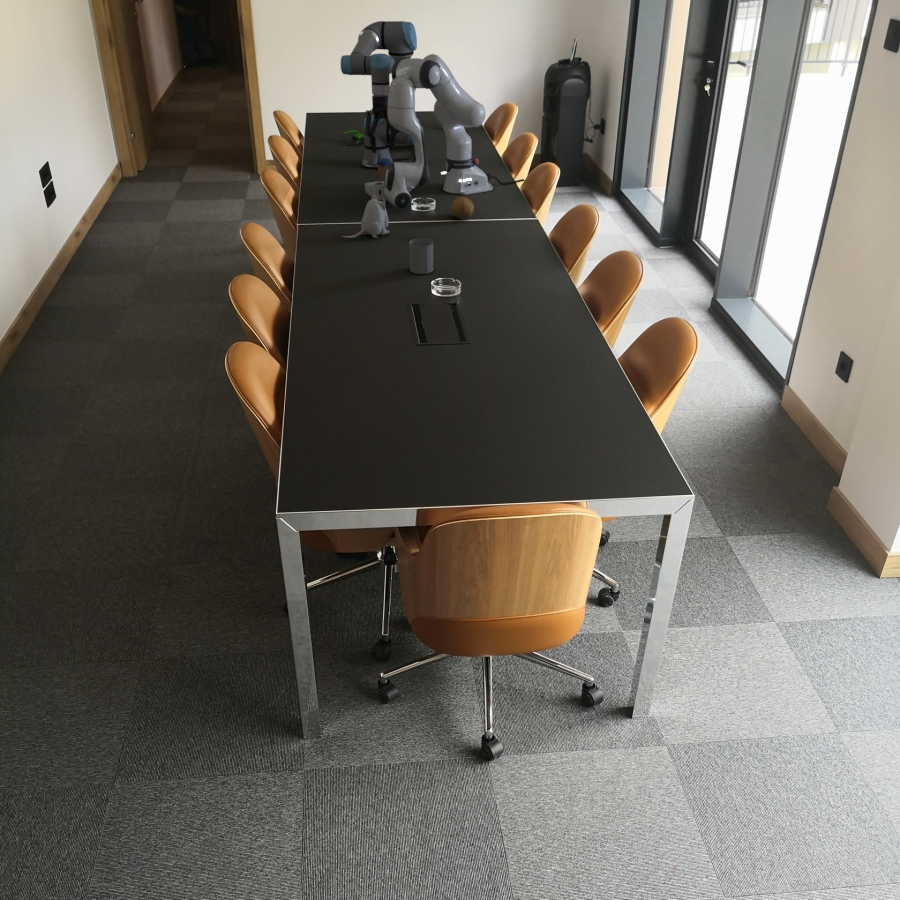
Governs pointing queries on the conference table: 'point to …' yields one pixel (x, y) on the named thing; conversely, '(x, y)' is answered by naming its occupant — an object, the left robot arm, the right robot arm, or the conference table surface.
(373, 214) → the toy
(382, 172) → the jar
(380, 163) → the lid
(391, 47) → the left robot arm
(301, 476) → the conference table surface
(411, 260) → the cup
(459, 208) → the potato
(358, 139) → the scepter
